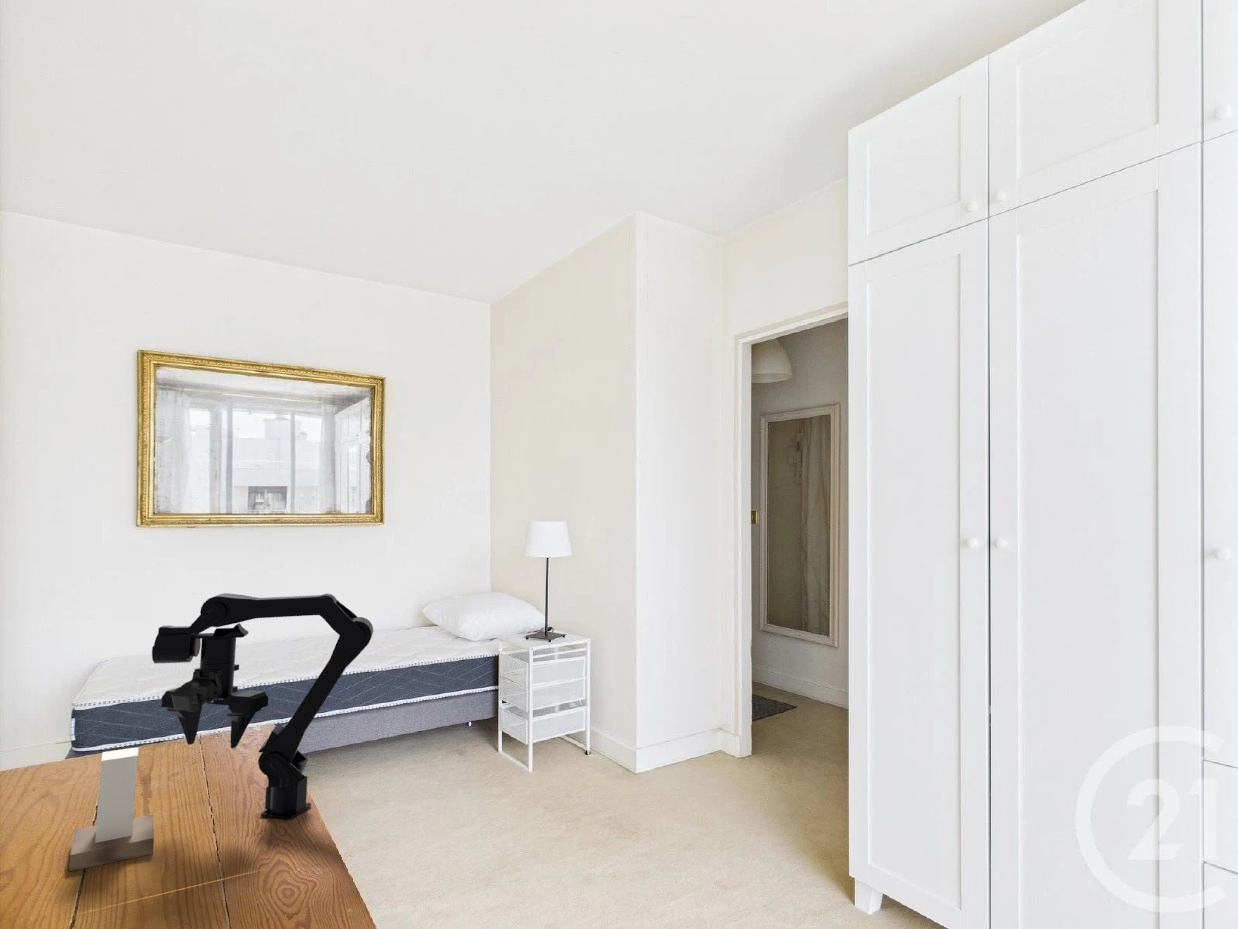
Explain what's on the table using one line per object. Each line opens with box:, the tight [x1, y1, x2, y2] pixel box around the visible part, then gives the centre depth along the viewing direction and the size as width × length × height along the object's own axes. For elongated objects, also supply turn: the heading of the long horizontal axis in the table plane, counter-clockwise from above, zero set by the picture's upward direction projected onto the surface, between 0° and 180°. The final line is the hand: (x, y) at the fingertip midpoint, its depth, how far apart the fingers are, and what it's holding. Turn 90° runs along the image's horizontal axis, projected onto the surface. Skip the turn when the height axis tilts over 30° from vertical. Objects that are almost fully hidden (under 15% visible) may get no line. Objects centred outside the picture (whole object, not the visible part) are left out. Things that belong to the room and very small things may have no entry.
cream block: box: [95, 747, 139, 843], centre depth 117 cm, size 5×5×13 cm
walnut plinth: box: [68, 814, 155, 872], centre depth 117 cm, size 11×11×2 cm
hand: (212, 746), depth 130 cm, fingers open, 9 cm apart
